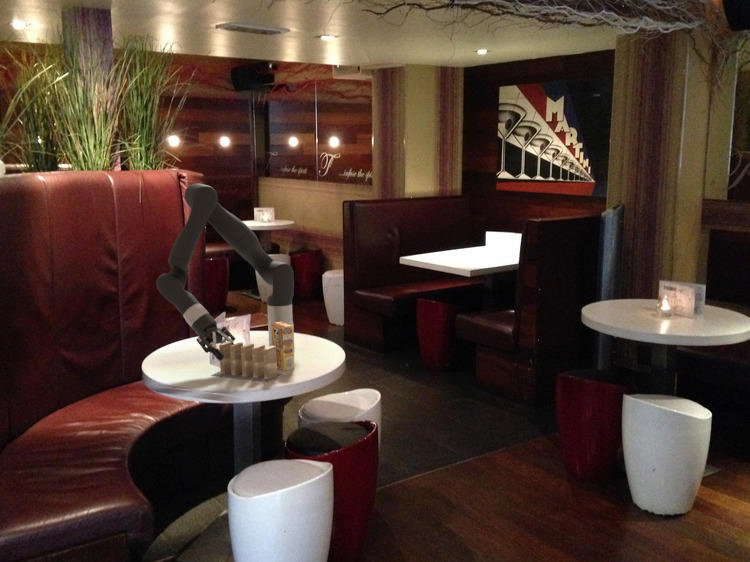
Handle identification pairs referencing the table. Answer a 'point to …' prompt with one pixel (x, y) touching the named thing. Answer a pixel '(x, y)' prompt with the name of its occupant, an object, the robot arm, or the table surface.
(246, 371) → the domino
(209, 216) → the robot arm
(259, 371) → the domino
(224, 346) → the domino
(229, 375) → the mat
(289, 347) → the candy box
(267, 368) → the domino
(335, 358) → the table surface
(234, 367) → the domino
